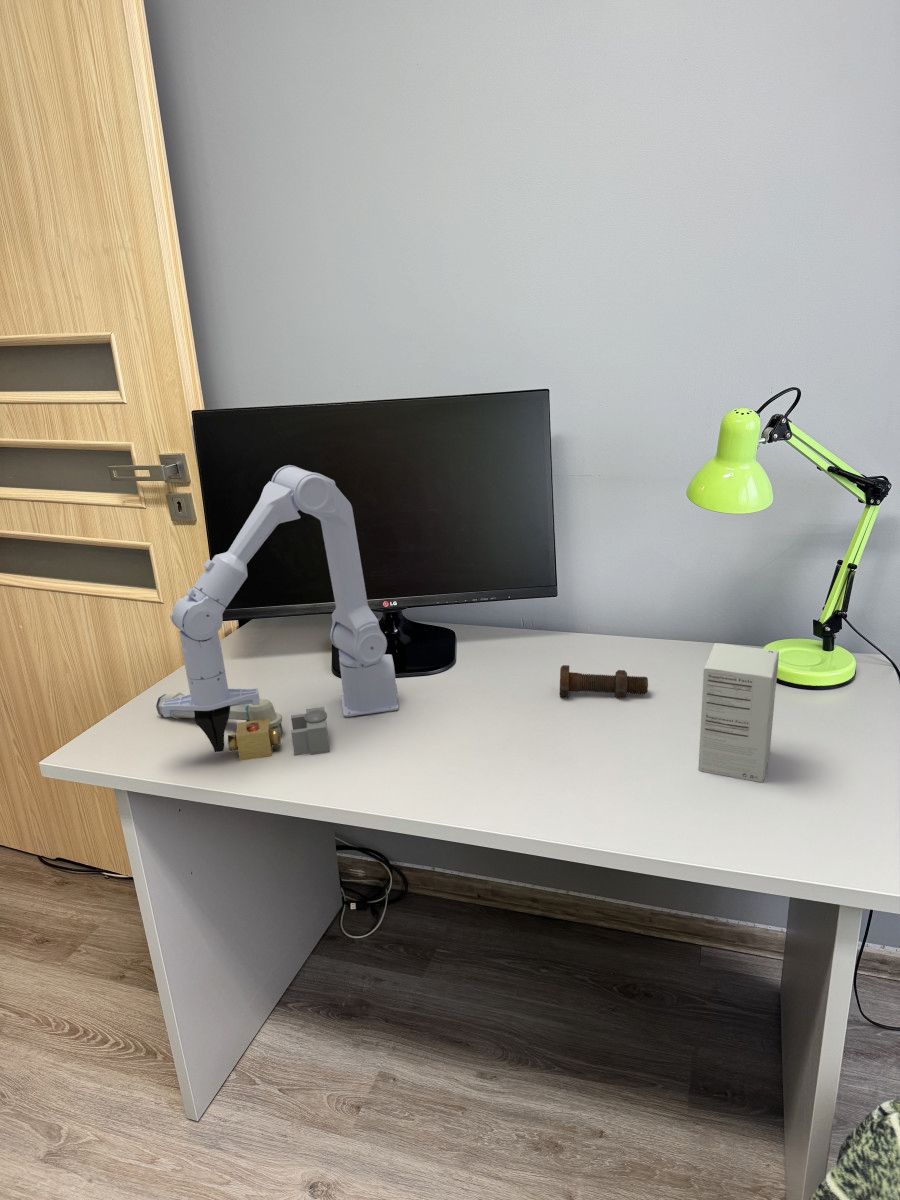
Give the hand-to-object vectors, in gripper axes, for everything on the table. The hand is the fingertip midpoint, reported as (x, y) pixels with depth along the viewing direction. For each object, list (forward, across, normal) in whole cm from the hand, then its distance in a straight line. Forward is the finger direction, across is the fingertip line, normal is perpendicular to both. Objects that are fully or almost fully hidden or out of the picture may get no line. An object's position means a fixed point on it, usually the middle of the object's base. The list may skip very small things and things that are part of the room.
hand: (219, 748), depth 133 cm
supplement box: (+2, -76, +23) cm, 79 cm away
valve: (+2, -6, 0) cm, 6 cm away
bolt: (+2, -65, -3) cm, 65 cm away
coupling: (+1, -15, 0) cm, 15 cm away
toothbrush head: (+2, +1, -11) cm, 11 cm away
